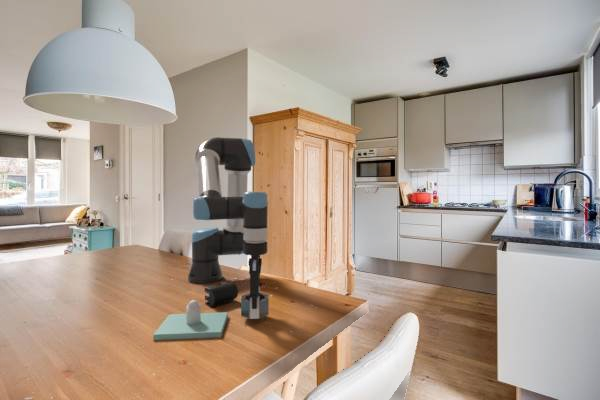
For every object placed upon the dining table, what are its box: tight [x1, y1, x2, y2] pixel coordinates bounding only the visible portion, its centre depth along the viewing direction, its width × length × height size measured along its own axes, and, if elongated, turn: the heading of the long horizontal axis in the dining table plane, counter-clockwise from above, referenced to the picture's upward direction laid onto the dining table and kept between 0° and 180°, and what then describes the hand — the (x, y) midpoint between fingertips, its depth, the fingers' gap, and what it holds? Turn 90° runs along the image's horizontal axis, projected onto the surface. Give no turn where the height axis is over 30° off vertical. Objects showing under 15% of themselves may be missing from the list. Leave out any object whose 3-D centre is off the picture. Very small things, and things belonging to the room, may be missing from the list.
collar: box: [240, 292, 270, 320], centre depth 98 cm, size 8×8×5 cm
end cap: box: [204, 281, 239, 308], centre depth 112 cm, size 10×7×7 cm
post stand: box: [152, 299, 229, 341], centre depth 92 cm, size 14×18×8 cm
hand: (255, 311), depth 98 cm, fingers closed on collar, 8 cm apart
